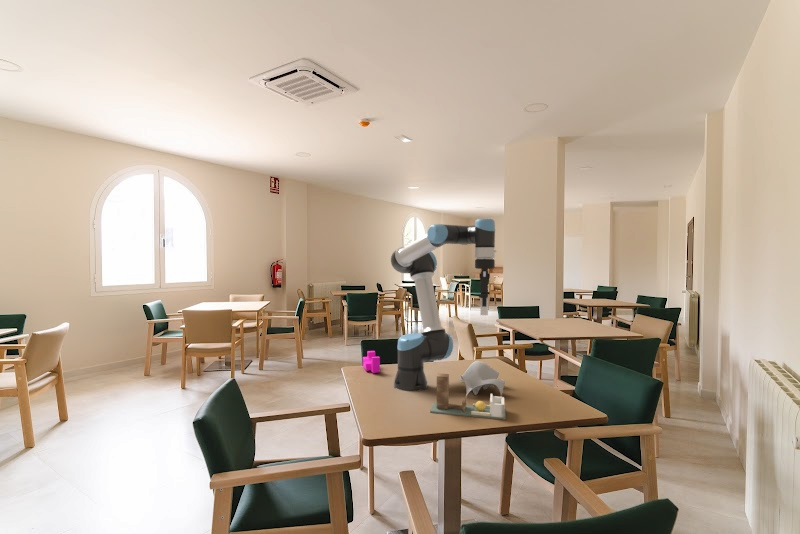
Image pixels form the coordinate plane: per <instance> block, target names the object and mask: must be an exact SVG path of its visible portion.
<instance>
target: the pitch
mask: <svg viewBox="0 0 800 534" xmlns="http://www.w3.org/2000/svg"><path fill="white" fill-rule="evenodd" d="M506 411H507V410H506V408H504V418H502V417H491V416H490V404H485V409H484V410H483V411H478V410H477V409H476V403H472V405H467V404H466V408H465V412H464V411H462V409H459V408H448V409H441V408H437V402H436V401H435V402H433V404H432V406H431V409H430V410H429V413H432V414H441V415H452V416H461V417H462V416H463V417H473V418H484V419H495V420H502V421H503V420H505V421H506V420H507V418H506V417H507V416H506V415H507V414H506V413H507V412H506Z"/></svg>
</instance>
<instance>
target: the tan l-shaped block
mask: <svg viewBox="0 0 800 534" xmlns="http://www.w3.org/2000/svg"><path fill="white" fill-rule="evenodd" d="M449 383H450V374H449V373H440V372H439V373H437V375H436V403H437V408H441V409H448V408H459V409H462V411H464V412H465V408H466V405H467V397H463V398H462V400H461V404H456V403H454V404H453V403H450V402H449V399H450V397H449V396H450V395H449V394H450V393H449V391H450V390H449V389H450V387H449V386H450V384H449Z"/></svg>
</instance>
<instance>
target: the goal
mask: <svg viewBox="0 0 800 534" xmlns="http://www.w3.org/2000/svg"><path fill="white" fill-rule="evenodd" d="M489 405H490V416H491V417H502V418H504V409H505V397H504V396H496V395H493V393H490V398H489Z"/></svg>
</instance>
